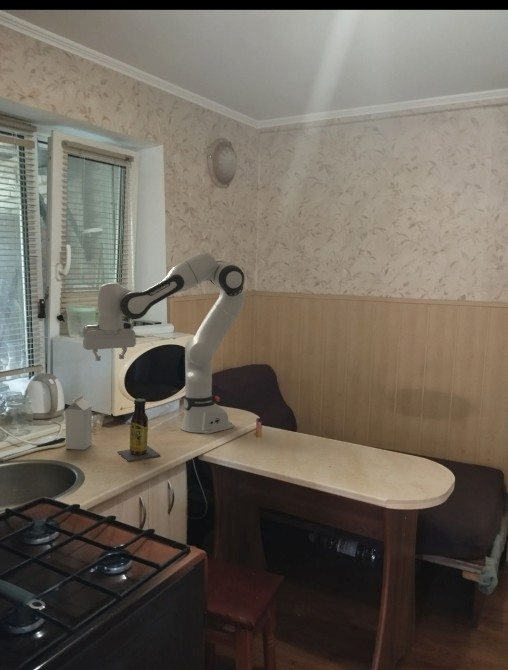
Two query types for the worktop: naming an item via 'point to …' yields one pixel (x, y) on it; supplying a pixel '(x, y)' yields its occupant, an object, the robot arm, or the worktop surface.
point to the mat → (131, 457)
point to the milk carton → (78, 424)
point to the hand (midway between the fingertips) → (109, 359)
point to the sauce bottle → (139, 428)
